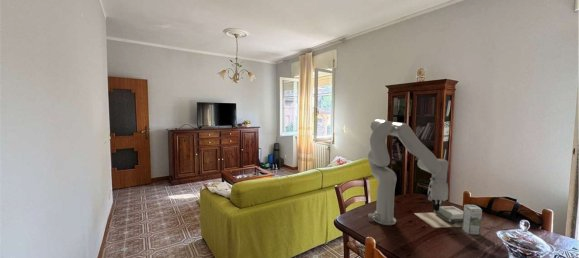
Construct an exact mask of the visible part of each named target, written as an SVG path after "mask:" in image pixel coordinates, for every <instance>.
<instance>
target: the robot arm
mask: <svg viewBox="0 0 579 258" xmlns="http://www.w3.org/2000/svg"><path fill="white" fill-rule="evenodd" d="M370 130H371V132H372V133H371V134H370V139H369V142H370V143H369V144H370V150H369V152H368V154H367V159H368V162H369V163H368V164H369V167H370V171H371V174H372V176H373V177H374V179H376V180H377V181H378V184H377V187H376V188H377V189H376V206H375V207H376V210H375V211H374V212H373V213H368V214H367V217H368V218H372V219H373V221H375V222H376V223H377V224H380V225H385V226H394V225H395V224H396V223H397V219H396V218H395V217H394V208H395V189H396V184H397V174H396V173H395V171H394V170H393V169H391V168H389V167H388V166H389V165H390V163H391V159H390V154H389V150H388V147H387V138H388V136H393V137H394V136H395V137H397V138H398V140H399V141H400V142H401V143H402V145H403V146H404V147H405V149H406V150H407V151H408V152H409V153H410V154H411V155H413V156H415V157H416V158H417V159H418V160H417V167H418V168H420V170H423V171H425V172H426V173H427V172H428V173H429V174H431V177H430V178H429V180H430V182H429V184H428V189H427V197H428V198H427V200H428V201H430V202H432V210H433V211H434V210H435V211H439V207H441V205H442V203H443V202H445V201H447V200H448V199H449V183H447V181H448V170H449V161H448V160H446V159H443V158H437V157H436V156H435V154H434V153H433V152H432V151H431V150H430V149H429V148H428V147H427V146H426V145H425V144H424V143H423V142H422V141H420V139H419V137H418V136H417V134H416V133H415V132H414V130H412V128H411V127H410V125H409V124H407V123H405V122H398V121H390V120H387V119H374V120H373V121H372V122H371V124H370Z"/></svg>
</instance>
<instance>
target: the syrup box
mask: <svg viewBox="0 0 579 258" xmlns="http://www.w3.org/2000/svg"><path fill="white" fill-rule="evenodd" d="M463 211H464V213H463V224H462V227H461V229H462V230H463V232H465V233H466V234H467V235H472V236H473V235H476V236H480V235H481V226H482V215H483V209H482V208H481V207H480V206H478V205H476V204H464V205H463Z"/></svg>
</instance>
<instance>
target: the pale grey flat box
mask: <svg viewBox="0 0 579 258" xmlns="http://www.w3.org/2000/svg"><path fill="white" fill-rule="evenodd" d="M434 212H435V214H437V215H439V216H440V217H442V218H443V219H445V220H446V221H448V222H450V223H452V224H455V221H463V213H464V210H461V209H460V208H458V207H456V206H454V205H451V206H450V205H449V206H446V205H444V206H440V207H439V211H435V210H434V209H433V213H434Z"/></svg>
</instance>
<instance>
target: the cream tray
mask: <svg viewBox="0 0 579 258" xmlns="http://www.w3.org/2000/svg"><path fill="white" fill-rule="evenodd" d="M413 214H414V215H415V216H417V218H419V219H420V220H422V221H424V222H425V224H427V225H428V226H430V227H432V228H433V229H442V228H443V229H446V228H462V224H463V221H455V224H452V223H450V222H448V221H446V220H445V219H443V218H442V217H440V216H439V215H437V214H435V212H434V211H433V212H414V213H413Z"/></svg>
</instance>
